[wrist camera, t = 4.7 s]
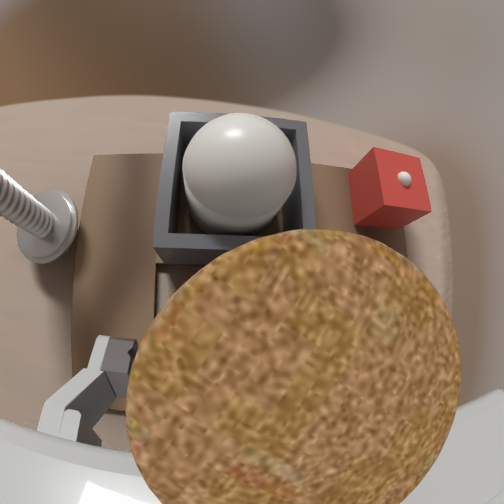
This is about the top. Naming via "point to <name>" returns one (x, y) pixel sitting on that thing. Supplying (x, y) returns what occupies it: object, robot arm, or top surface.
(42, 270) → the top surface
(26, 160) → the top surface
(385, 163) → the red die
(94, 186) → the game board
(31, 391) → the top surface
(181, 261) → the dome collar
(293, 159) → the dome cap
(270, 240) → the bottle
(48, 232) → the screw
